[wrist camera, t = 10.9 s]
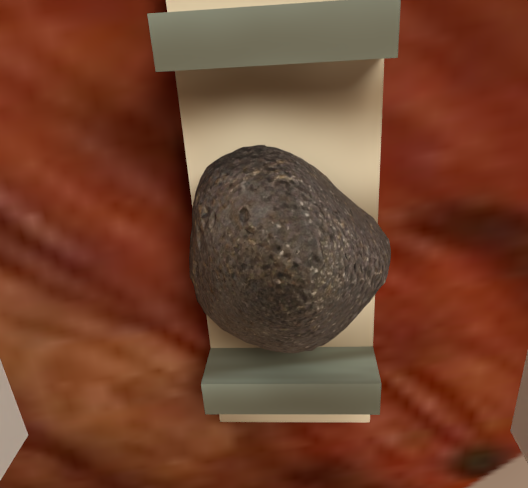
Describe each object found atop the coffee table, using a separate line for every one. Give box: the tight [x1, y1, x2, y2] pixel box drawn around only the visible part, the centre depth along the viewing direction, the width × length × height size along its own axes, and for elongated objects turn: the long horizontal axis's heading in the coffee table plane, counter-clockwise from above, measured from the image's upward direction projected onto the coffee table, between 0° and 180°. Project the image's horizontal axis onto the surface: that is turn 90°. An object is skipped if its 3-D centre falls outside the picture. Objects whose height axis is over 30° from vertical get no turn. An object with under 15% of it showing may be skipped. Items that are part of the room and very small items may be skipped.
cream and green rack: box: [147, 0, 401, 422], centre depth 24 cm, size 26×9×6 cm, turn 4°
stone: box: [189, 145, 391, 353], centre depth 22 cm, size 10×8×10 cm
